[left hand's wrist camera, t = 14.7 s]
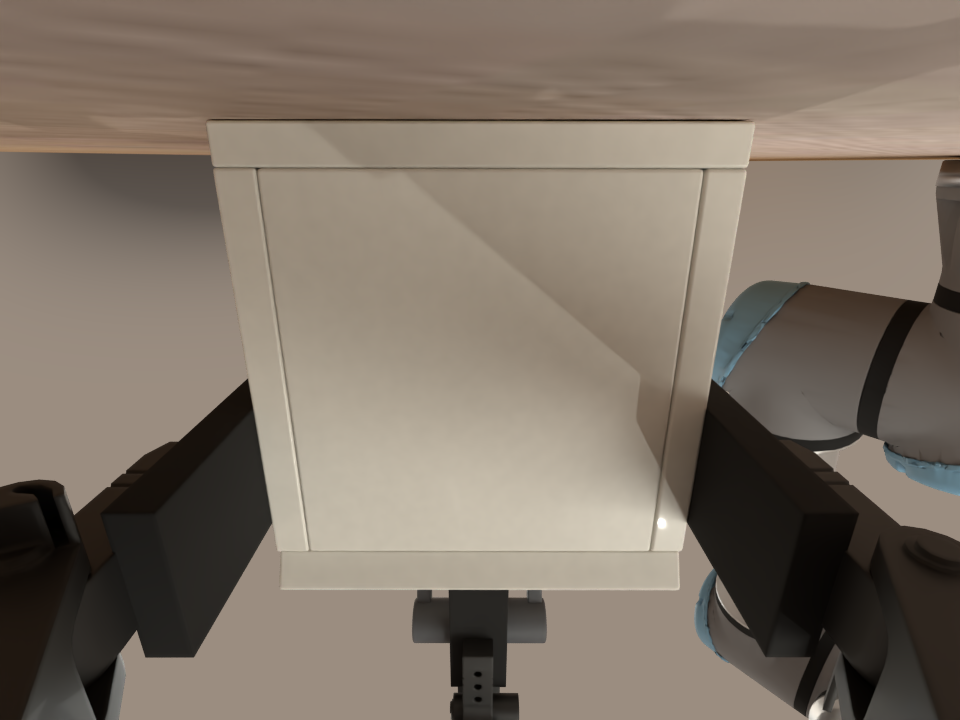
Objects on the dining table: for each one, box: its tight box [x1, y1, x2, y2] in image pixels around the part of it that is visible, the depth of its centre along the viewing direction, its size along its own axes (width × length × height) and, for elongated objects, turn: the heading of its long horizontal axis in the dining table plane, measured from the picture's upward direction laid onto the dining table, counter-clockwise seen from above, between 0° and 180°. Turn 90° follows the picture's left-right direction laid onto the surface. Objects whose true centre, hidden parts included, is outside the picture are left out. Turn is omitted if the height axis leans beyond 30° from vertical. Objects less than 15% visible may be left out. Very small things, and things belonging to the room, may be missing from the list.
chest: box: [206, 120, 755, 551], centre depth 18 cm, size 17×9×9 cm, turn 0°
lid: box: [279, 548, 680, 643], centre depth 20 cm, size 18×9×9 cm, turn 0°
